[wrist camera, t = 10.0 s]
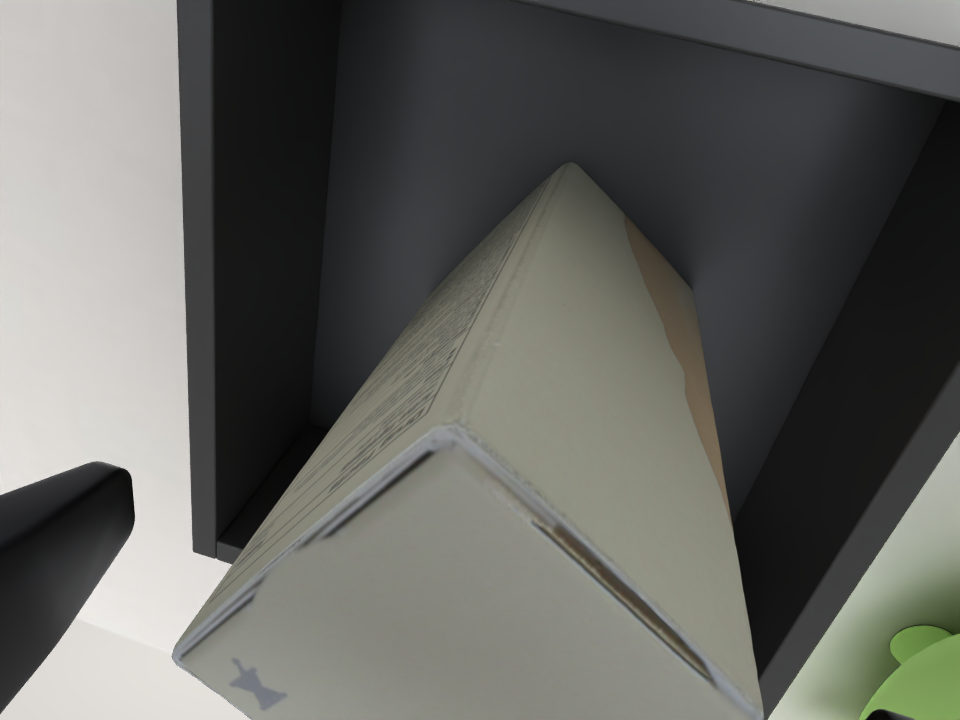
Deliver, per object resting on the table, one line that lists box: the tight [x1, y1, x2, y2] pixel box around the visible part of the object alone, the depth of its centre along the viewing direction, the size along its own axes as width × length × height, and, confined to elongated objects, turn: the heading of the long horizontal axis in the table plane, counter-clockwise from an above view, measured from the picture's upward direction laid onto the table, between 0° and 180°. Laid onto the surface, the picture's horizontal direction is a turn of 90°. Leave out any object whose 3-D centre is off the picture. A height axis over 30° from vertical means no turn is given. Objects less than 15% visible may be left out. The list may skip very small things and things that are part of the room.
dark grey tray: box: [177, 0, 960, 720], centre depth 15 cm, size 13×13×6 cm
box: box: [172, 162, 764, 720], centre depth 12 cm, size 5×4×11 cm
